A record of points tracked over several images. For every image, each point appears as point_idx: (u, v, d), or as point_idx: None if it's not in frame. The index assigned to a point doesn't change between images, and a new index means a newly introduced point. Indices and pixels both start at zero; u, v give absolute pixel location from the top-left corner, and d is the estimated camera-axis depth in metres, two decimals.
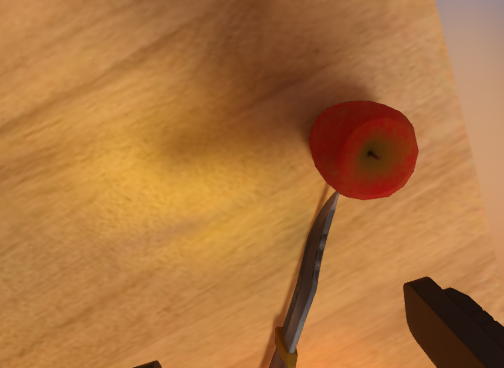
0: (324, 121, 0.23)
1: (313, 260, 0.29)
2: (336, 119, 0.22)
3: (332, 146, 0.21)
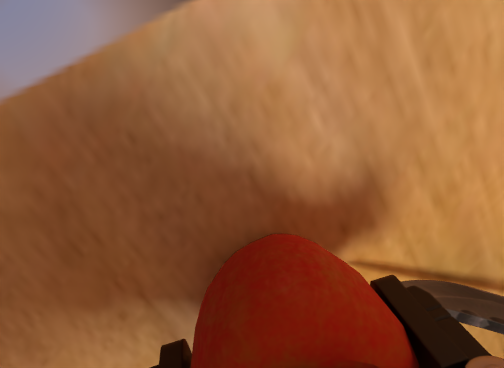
0: None
1: None
2: None
3: None
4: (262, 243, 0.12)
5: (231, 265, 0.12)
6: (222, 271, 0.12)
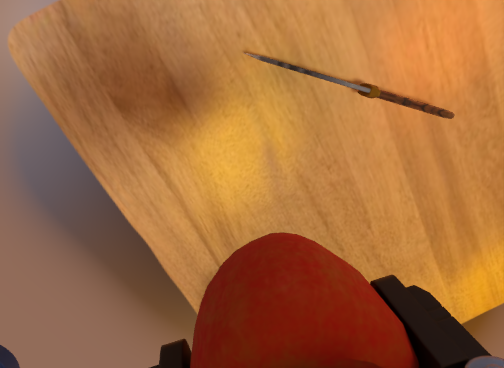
0: None
1: (298, 71, 0.39)
2: None
3: None
4: (262, 242, 0.12)
5: (231, 264, 0.12)
6: (222, 270, 0.12)
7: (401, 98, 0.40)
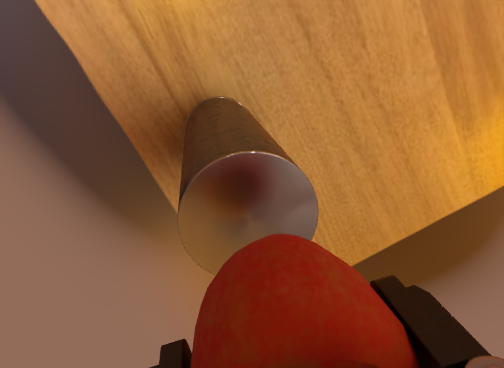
0: None
1: None
2: None
3: None
4: (262, 243, 0.12)
5: (231, 265, 0.12)
6: (222, 271, 0.12)
7: None
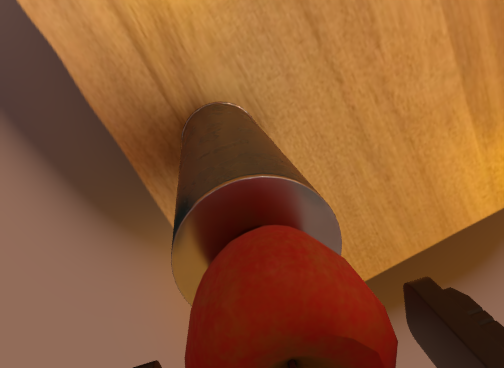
0: None
1: None
2: None
3: None
4: (254, 232, 0.13)
5: (225, 253, 0.13)
6: (217, 259, 0.13)
7: None
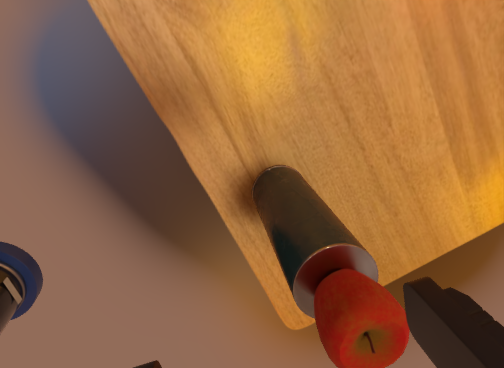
0: None
1: None
2: None
3: None
4: (343, 275, 0.28)
5: (330, 285, 0.28)
6: (325, 287, 0.28)
7: None
